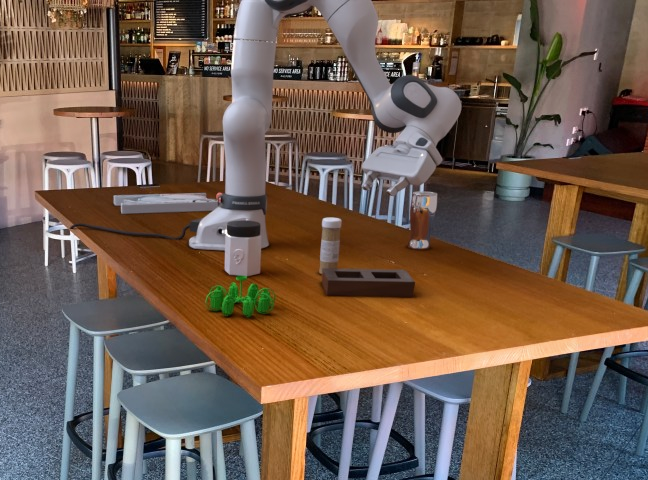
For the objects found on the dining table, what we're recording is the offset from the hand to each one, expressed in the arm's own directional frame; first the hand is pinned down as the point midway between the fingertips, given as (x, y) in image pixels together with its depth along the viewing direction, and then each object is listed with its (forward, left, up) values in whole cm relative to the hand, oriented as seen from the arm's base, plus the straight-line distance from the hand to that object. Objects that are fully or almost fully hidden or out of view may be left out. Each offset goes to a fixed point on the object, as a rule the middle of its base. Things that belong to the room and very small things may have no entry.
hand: (376, 191), depth 192 cm
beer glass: (+18, +24, -19) cm, 36 cm away
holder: (-4, -21, -19) cm, 28 cm away
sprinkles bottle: (-11, -7, -19) cm, 23 cm away
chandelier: (-33, -38, -19) cm, 54 cm away
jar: (-32, -7, -19) cm, 38 cm away
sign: (-57, +83, -19) cm, 103 cm away
